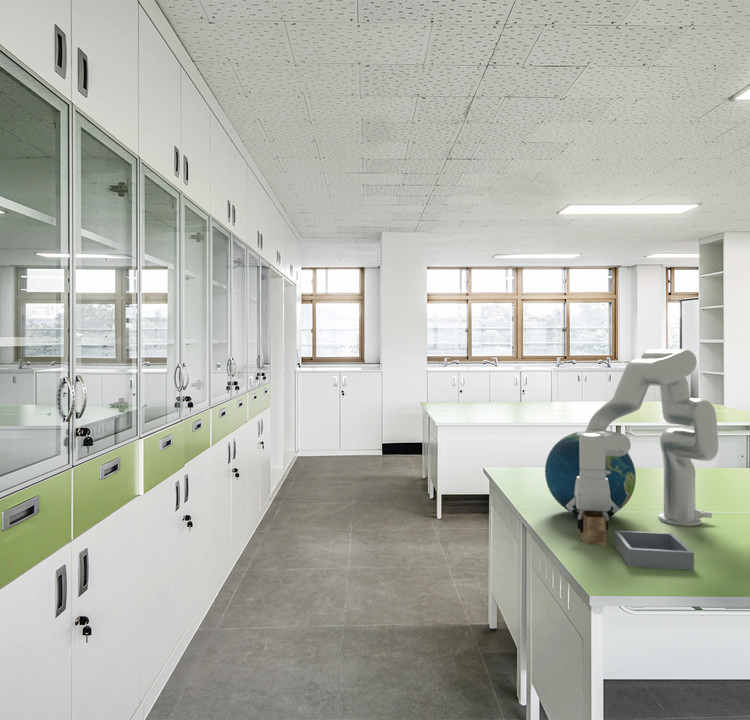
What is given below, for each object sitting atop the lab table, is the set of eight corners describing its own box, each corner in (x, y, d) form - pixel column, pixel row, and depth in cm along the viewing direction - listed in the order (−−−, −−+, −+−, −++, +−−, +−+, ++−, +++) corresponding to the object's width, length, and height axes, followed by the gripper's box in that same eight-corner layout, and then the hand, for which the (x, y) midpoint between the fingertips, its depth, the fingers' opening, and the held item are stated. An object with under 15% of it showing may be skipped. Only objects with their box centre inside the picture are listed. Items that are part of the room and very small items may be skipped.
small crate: (599, 535, 170) (599, 509, 170) (606, 544, 161) (606, 518, 161) (579, 534, 171) (579, 508, 171) (585, 543, 163) (585, 517, 162)
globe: (579, 533, 172) (579, 439, 172) (529, 508, 201) (528, 427, 200) (656, 525, 180) (655, 435, 180) (597, 502, 208) (596, 424, 208)
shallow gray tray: (672, 550, 158) (672, 533, 158) (693, 571, 142) (693, 552, 142) (614, 547, 161) (613, 530, 161) (629, 567, 145) (628, 549, 145)
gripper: (618, 471, 168) (619, 529, 168) (561, 470, 172) (561, 526, 172) (625, 477, 161) (625, 537, 161) (565, 475, 164) (565, 534, 164)
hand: (592, 531), depth 166 cm, fingers closed on small crate, 6 cm apart
